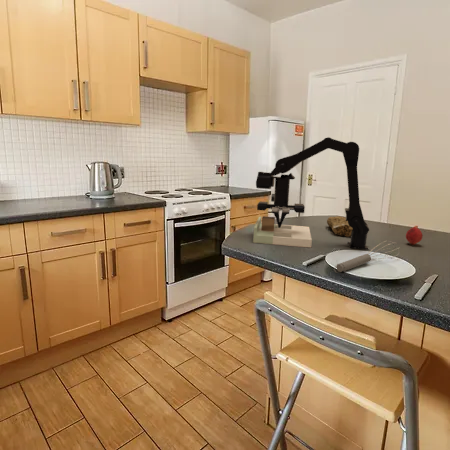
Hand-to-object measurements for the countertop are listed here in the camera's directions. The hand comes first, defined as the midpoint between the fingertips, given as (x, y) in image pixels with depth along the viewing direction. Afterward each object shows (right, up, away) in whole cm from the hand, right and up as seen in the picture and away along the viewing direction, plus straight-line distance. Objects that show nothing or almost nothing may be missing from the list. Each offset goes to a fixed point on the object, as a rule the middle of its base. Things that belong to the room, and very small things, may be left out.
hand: (279, 227), depth 138 cm
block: (-5, -1, +1) cm, 5 cm away
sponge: (+30, -2, +15) cm, 34 cm away
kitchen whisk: (+25, -12, -27) cm, 39 cm away
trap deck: (+1, -4, +1) cm, 4 cm away
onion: (+54, -7, -3) cm, 54 cm away
